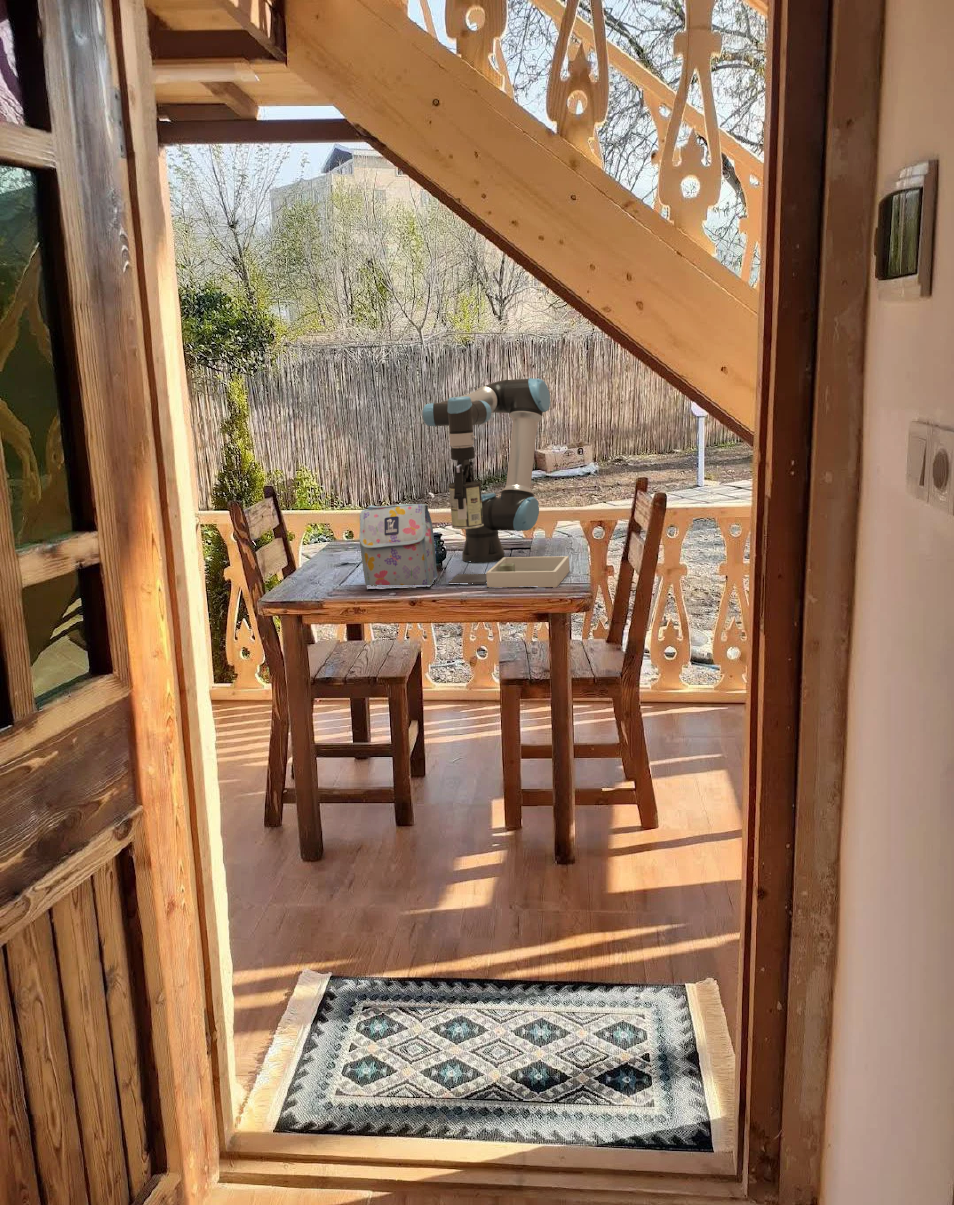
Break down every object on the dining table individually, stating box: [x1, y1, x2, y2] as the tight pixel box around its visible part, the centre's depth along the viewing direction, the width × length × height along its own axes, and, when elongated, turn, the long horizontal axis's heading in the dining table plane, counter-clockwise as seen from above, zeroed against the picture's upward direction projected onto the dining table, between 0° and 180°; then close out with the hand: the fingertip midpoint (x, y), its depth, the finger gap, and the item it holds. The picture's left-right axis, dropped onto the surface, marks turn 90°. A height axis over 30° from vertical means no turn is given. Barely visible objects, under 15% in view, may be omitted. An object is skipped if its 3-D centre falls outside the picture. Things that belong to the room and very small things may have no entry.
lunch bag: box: [359, 503, 439, 586], centre depth 332 cm, size 22×17×26 cm
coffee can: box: [448, 480, 484, 530], centre depth 330 cm, size 10×10×14 cm
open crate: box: [485, 555, 570, 589], centre depth 331 cm, size 22×24×5 cm
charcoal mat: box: [448, 573, 487, 585], centre depth 336 cm, size 12×12×1 cm
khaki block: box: [500, 563, 515, 572], centre depth 333 cm, size 4×4×5 cm
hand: (466, 516), depth 331 cm, fingers closed on coffee can, 10 cm apart
